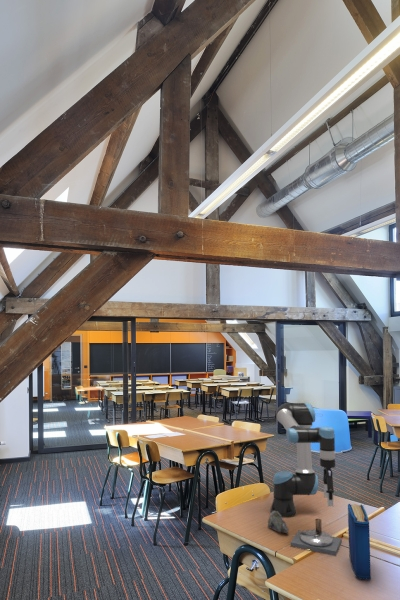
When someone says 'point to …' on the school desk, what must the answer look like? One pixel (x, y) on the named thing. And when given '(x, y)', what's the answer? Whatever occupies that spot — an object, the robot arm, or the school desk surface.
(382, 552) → the school desk surface
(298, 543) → the stand
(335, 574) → the school desk surface
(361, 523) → the book
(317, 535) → the crank wheel
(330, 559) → the school desk surface
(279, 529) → the mineral rock
